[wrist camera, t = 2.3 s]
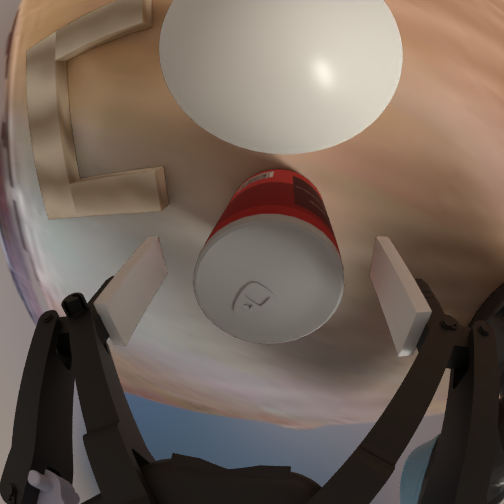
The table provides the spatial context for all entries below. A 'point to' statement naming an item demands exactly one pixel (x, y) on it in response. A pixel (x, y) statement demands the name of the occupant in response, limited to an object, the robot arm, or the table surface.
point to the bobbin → (281, 69)
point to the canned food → (271, 262)
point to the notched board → (59, 123)
